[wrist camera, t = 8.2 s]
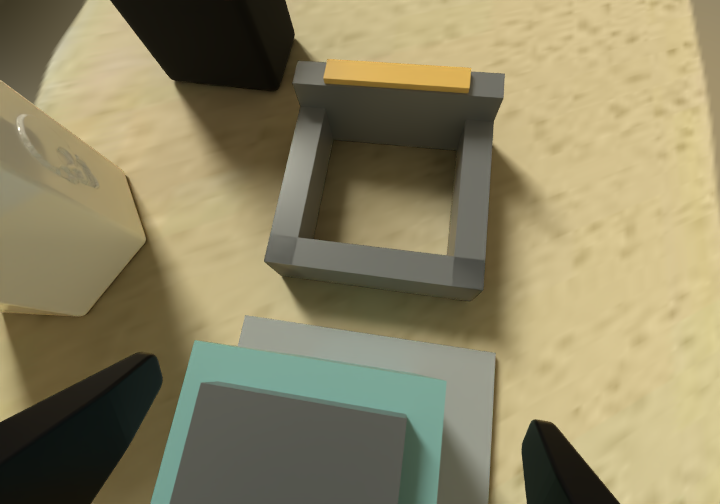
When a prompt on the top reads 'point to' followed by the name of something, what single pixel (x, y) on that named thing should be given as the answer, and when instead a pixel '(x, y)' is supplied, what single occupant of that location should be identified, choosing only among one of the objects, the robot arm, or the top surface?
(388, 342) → the mat
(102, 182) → the jar
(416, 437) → the plug
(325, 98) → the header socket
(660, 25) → the top surface
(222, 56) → the battery
